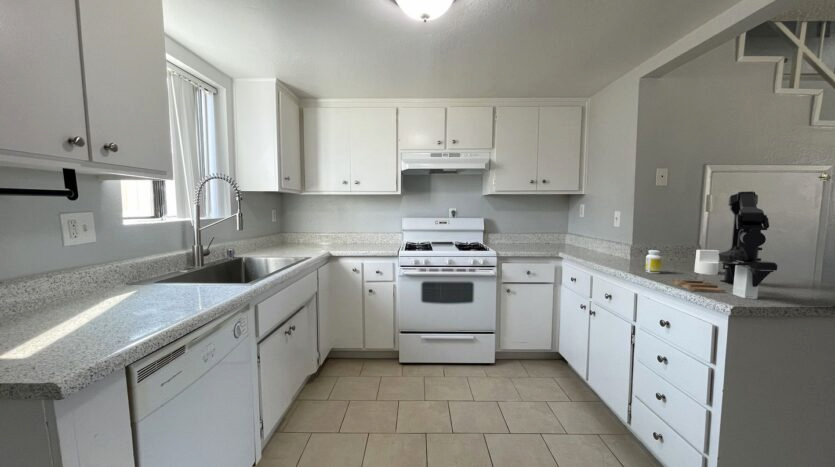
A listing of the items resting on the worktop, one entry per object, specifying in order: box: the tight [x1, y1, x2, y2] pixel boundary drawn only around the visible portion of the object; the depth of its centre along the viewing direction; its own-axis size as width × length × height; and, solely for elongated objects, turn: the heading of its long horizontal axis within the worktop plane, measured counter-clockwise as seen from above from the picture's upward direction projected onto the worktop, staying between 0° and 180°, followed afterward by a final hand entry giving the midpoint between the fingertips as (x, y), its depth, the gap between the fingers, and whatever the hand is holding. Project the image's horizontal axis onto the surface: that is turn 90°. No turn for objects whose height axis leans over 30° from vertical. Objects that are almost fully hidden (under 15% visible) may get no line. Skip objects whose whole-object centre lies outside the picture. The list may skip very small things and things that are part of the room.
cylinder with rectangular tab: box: [693, 249, 720, 276], centre depth 162 cm, size 9×9×12 cm
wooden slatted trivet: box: [672, 279, 725, 294], centre depth 134 cm, size 14×11×2 cm
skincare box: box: [732, 265, 759, 300], centre depth 121 cm, size 6×4×12 cm
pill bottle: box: [645, 249, 662, 274], centre depth 163 cm, size 6×6×12 cm
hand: (744, 283), depth 121 cm, fingers open, 9 cm apart
